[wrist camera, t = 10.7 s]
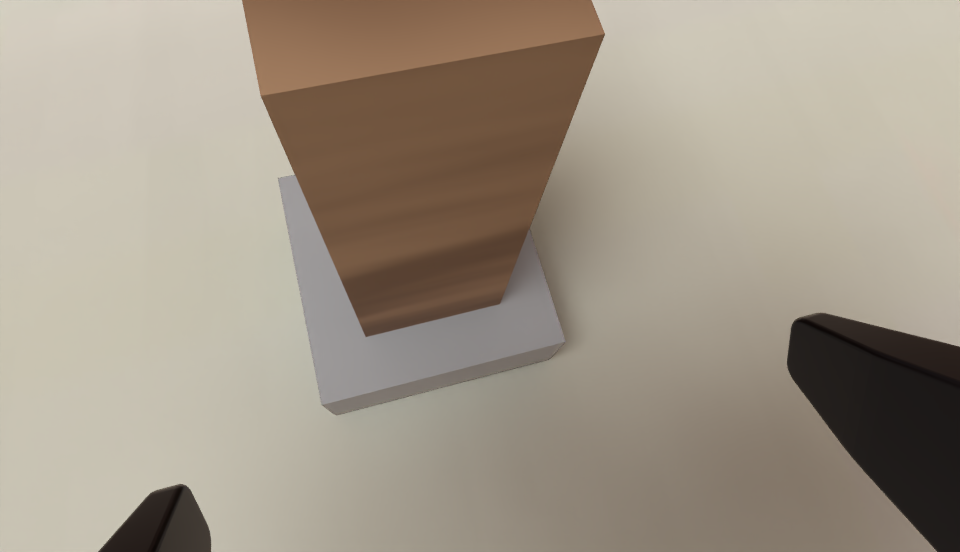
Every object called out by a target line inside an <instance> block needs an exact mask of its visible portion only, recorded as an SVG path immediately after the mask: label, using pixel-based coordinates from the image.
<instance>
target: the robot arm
mask: <svg viewBox="0 0 960 552" xmlns="http://www.w3.org/2000/svg"><path fill="white" fill-rule="evenodd" d="M787 366H788V370H789V373H790V375H791V377H792V379H793V380H794V381H795V383H796V384H797V385H798V387H799V388H800V389H801V391H802V392H803V393H804V395H805V396H806V397H807V399H808V400H809V401H810V403H811V404H812V405H813V407H814V408H815V409H816V411H817V412H818V413H819V415H820V416H821V417H822V419H823V420H824V421H825V423H826V424H827V425H828V427H829V428H830V429H831V431H832V432H833V433H834V435H835V436H836V437H837V439H838V440H839V441H840V443H841V444H842V445H843V447H844V448H845V449H846V450H847V452H848V453H849V454H850V455H851V457H852V458H853V459H854V460H855V461H856V462H857V464H858V465H859V466H860V467H861V468H862V469H863V471H864V472H865V473H866V474H867V475H868V476H869V477H870V478H871V479H872V480H873V482H874V483H875V484H876V485H877V486H878V487H879V488H880V489H881V490H882V491H883V493H884V494H885V495H886V496H887V497H888V498H889V499H890V500H891V501H892V502H893V504H894V505H895V506H896V507H897V508H898V509H899V510H900V511H901V512H902V513H903V515H904V516H905V517H906V518H907V519H908V520H909V521H910V522H911V523H912V524H913V525H914V527H915V528H916V529H917V530H918V531H919V532H920V533H921V534H922V535H923V536H924V538H925V539H926V540H927V541H928V542H929V543H930V544H931V545H932V546H933V547H934V549H935V550H936V551H937V552H960V347H959V346H955V345H951V344H947V343H943V342H939V341H935V340H931V339H927V338H923V337H919V336H915V335H911V334H907V333H903V332H898V331H894V330H890V329H886V328H882V327H878V326H874V325H870V324H866V323H862V322H858V321H854V320H850V319H846V318H842V317H838V316H834V315H830V314H826V313H815V314H811V315H807V316H804V317H800V318H798V319H796V320H795V321H794V322H793V324H792V327H791V333H790V341H789V349H788V357H787ZM98 552H211V536H210V531H209V528H208V525H207V523H206V521H205V519H204V516H203V514H202V512H201V510H200V508H199V506H198V504H197V502H196V500H195V498H194V496H193V494H192V492H191V490H190V489H189V488H188V487H187V486H186V485H183V484H178V485H174V486H171V487H167V488H163V489H159V490H156V491H154V492H152V493H150V494H149V495H148V496H147V497H146V498H145V500H144V501H143V502H142V503H141V504H140V505H139V506H138V507H137V509H136V510H135V511H134V512H133V513H132V514H131V515H130V516H129V518H128V519H127V520H126V521H125V522H124V523H123V524H122V525H121V527H120V528H119V529H118V530H117V531H116V532H115V533H114V535H113V536H112V537H111V538H110V539H109V540H108V541H107V542H106V544H105V545H104V546H103V547H102V548H101V549H100V550H99V551H98Z"/></svg>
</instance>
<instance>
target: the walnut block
mask: <svg viewBox="0 0 960 552" xmlns="http://www.w3.org/2000/svg"><path fill="white" fill-rule="evenodd" d="M242 2H243V7H244V12H245V17H246V22H247V28H248V33H249V38H250V43H251V48H252V53H253V58H254V64H255V69H256V74H257V79H258V84H259V89H260V94H261V98H262V100H263V102H264V104H265V107H266V109H267V111H268V114H269V116H270V118H271V121H272V123H273V125H274V127H275V130H276V132H277V134H278V137H279V139H280V141H281V144H282V146H283V148H284V150H285V153H286V155H287V157H288V160H289V162H290V164H291V167H292V169H293V171H294V173H295V176H296V178H297V180H298V183H299V185H300V187H301V190H302V192H303V194H304V196H305V199H306V201H307V203H308V206H309V208H310V210H311V213H312V215H313V217H314V219H315V222H316V224H317V226H318V229H319V231H320V233H321V235H322V238H323V240H324V242H325V245H326V247H327V249H328V252H329V254H330V256H331V258H332V261H333V263H334V265H335V268H336V270H337V272H338V275H339V277H340V279H341V281H342V284H343V286H344V288H345V291H346V293H347V295H348V298H349V300H350V302H351V304H352V307H353V309H354V311H355V314H356V316H357V318H358V321H359V323H360V325H361V327H362V330H363V332H364V334H365V337H369V336H373V335H377V334H381V333H385V332H389V331H393V330H397V329H401V328H405V327H409V326H413V325H417V324H421V323H425V322H430V321H434V320H438V319H442V318H446V317H450V316H454V315H458V314H462V313H466V312H470V311H474V310H478V309H482V308H486V307H490V306H495V305H499V304H500V303H501V300H502V297H503V295H504V292H505V290H506V287H507V285H508V282H509V279H510V277H511V274H512V272H513V269H514V267H515V264H516V261H517V259H518V256H519V254H520V251H521V249H522V246H523V243H524V241H525V238H526V236H527V233H528V231H529V228H530V225H531V223H532V220H533V218H534V215H535V213H536V210H537V207H538V205H539V202H540V200H541V197H542V195H543V192H544V189H545V187H546V184H547V182H548V179H549V177H550V174H551V171H552V169H553V166H554V164H555V161H556V159H557V156H558V153H559V151H560V148H561V146H562V143H563V141H564V138H565V135H566V133H567V130H568V128H569V125H570V123H571V120H572V117H573V115H574V112H575V110H576V107H577V105H578V102H579V99H580V97H581V94H582V92H583V89H584V87H585V84H586V81H587V79H588V76H589V74H590V71H591V69H592V66H593V63H594V61H595V58H596V56H597V53H598V51H599V48H600V45H601V43H602V40H603V38H604V35H605V33H604V30H603V28H602V25H601V23H600V20H599V18H598V15H597V13H596V11H595V8H594V6H593V3H592V1H591V0H242Z"/></svg>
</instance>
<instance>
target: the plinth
mask: <svg viewBox="0 0 960 552" xmlns="http://www.w3.org/2000/svg"><path fill="white" fill-rule="evenodd" d="M278 181H279V187H280V192H281V197H282V202H283V207H284V212H285V218H286V223H287V228H288V233H289V238H290V243H291V249H292V254H293V259H294V264H295V269H296V274H297V280H298V285H299V290H300V295H301V300H302V305H303V310H304V316H305V321H306V326H307V331H308V336H309V341H310V347H311V352H312V357H313V362H314V367H315V372H316V378H317V383H318V388H319V393H320V398H321V403H322V406H324V407H325V408H327V409H328V410H329V411H331V412H332V413H333V414H335V415H339V414H343V413H347V412H350V411H354V410H358V409H362V408H366V407H369V406H373V405H377V404H381V403H385V402H388V401H392V400H396V399H400V398H404V397H407V396H411V395H415V394H419V393H423V392H427V391H430V390H434V389H438V388H442V387H446V386H449V385H453V384H457V383H461V382H465V381H468V380H472V379H476V378H480V377H484V376H487V375H491V374H495V373H499V372H503V371H506V370H510V369H514V368H518V367H522V366H525V365H529V364H533V363H537V362H541V361H544V360H548V359H550V358H551V357H552V356H553V355H554V354H555V353H556V351H557V350H558V349H559V348H560V347H561V346H562V345H563V344H564V343H565V342H566V341H565V338H564V335H563V331H562V328H561V325H560V322H559V319H558V316H557V313H556V310H555V306H554V303H553V300H552V297H551V294H550V291H549V288H548V285H547V281H546V278H545V275H544V272H543V269H542V266H541V263H540V260H539V257H538V253H537V250H536V247H535V244H534V241H533V238H532V235H531V232H530V228H529V231H528V233H527V236H526V238H525V241H524V243H523V246H522V249H521V251H520V254H519V256H518V259H517V261H516V264H515V267H514V269H513V272H512V274H511V277H510V279H509V282H508V285H507V287H506V290H505V292H504V295H503V297H502V300H501V303H500V304H499V305H495V306H490V307H486V308H482V309H478V310H474V311H470V312H466V313H462V314H458V315H454V316H450V317H446V318H442V319H438V320H434V321H430V322H425V323H421V324H417V325H413V326H409V327H405V328H401V329H397V330H393V331H389V332H385V333H381V334H377V335H373V336H369V337H365V334H364V332H363V330H362V327H361V325H360V323H359V321H358V318H357V316H356V314H355V311H354V309H353V307H352V304H351V302H350V300H349V298H348V295H347V293H346V291H345V288H344V286H343V284H342V281H341V279H340V277H339V275H338V272H337V270H336V268H335V265H334V263H333V261H332V258H331V256H330V254H329V252H328V249H327V247H326V245H325V242H324V240H323V238H322V235H321V233H320V231H319V229H318V226H317V224H316V222H315V219H314V217H313V215H312V213H311V210H310V208H309V206H308V203H307V201H306V199H305V196H304V194H303V192H302V190H301V187H300V185H299V183H298V180H297V178H296V176H295V175H291V176H286V177H281V178H278Z"/></svg>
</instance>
